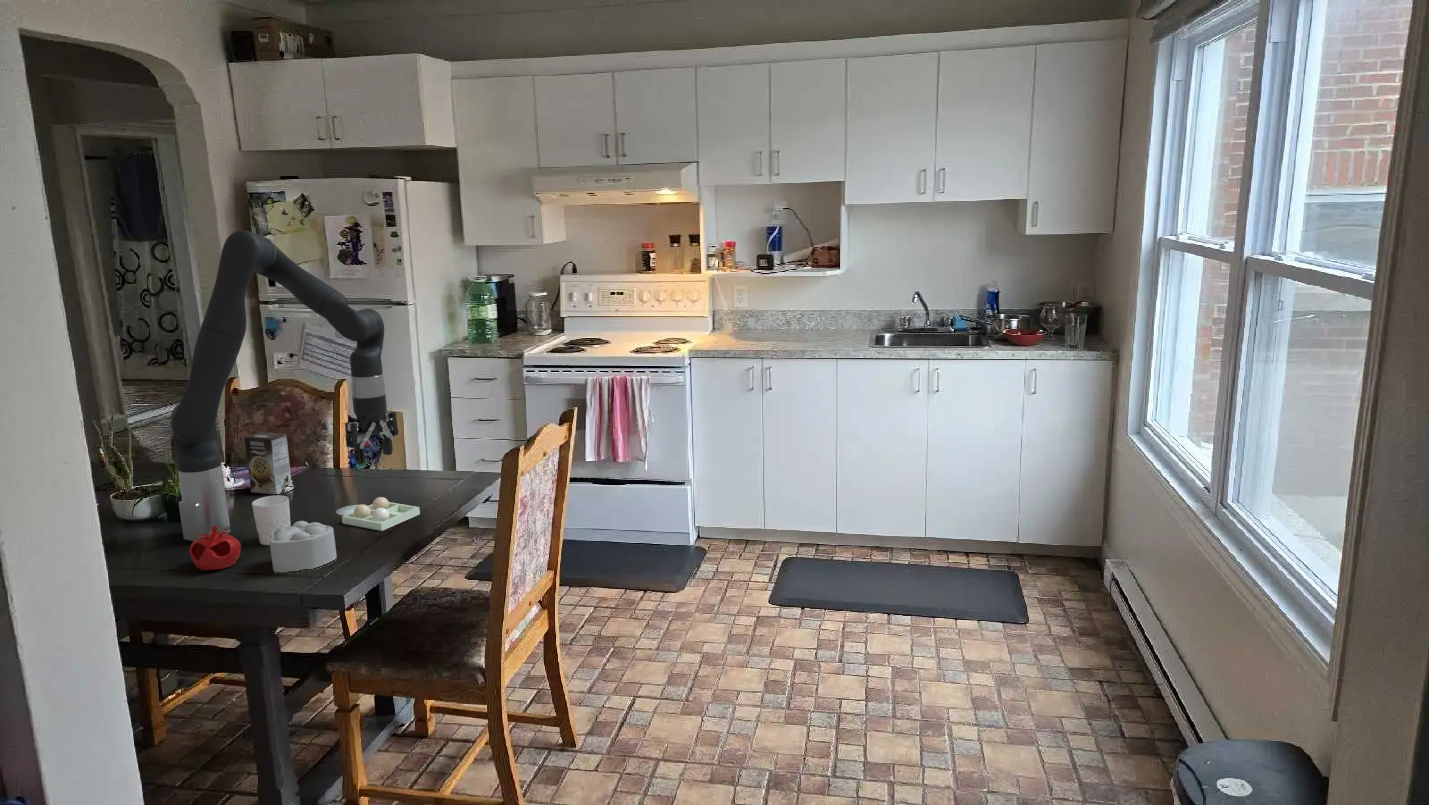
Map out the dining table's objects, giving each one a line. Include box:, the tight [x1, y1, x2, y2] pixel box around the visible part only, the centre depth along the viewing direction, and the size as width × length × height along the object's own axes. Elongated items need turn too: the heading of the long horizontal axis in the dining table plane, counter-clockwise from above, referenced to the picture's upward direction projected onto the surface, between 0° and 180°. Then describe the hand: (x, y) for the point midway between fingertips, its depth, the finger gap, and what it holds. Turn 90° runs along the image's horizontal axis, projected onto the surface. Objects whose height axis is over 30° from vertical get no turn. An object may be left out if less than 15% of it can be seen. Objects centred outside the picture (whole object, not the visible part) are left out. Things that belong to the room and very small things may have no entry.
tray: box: [341, 496, 421, 532], centre depth 232 cm, size 13×13×5 cm
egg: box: [372, 508, 389, 522], centre depth 228 cm, size 4×4×4 cm
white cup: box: [251, 494, 292, 546], centre depth 220 cm, size 8×8×10 cm
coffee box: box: [243, 431, 293, 495], centre depth 257 cm, size 9×6×16 cm
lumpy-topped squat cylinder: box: [269, 520, 337, 573], centre depth 206 cm, size 10×13×9 cm
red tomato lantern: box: [189, 525, 242, 571], centre depth 205 cm, size 10×10×9 cm
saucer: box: [335, 504, 359, 516], centre depth 239 cm, size 8×8×1 cm
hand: (374, 458), depth 224 cm, fingers open, 8 cm apart
